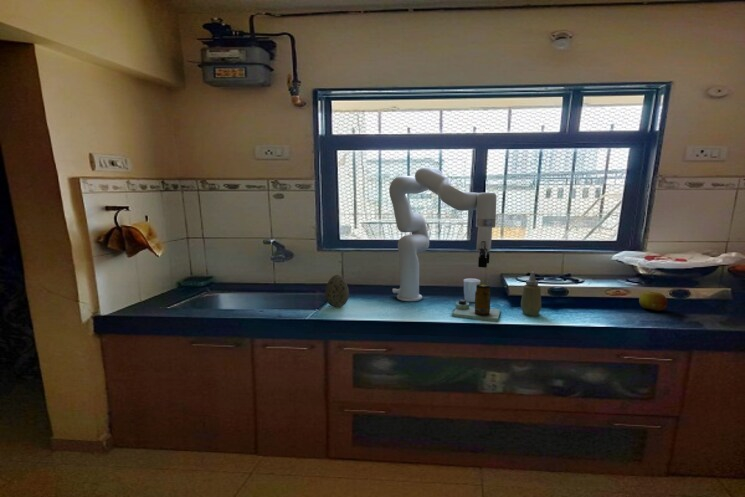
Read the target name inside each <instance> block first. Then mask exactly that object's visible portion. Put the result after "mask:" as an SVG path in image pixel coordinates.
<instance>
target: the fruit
mask: <svg viewBox="0 0 745 497" xmlns="http://www.w3.org/2000/svg"><path fill="white" fill-rule="evenodd" d="M638 303H639V305H640V307H641V308H642V309H645V310H651V311H656V312H657V311H659V312H661V311H664V310H666V309H667V307H668V299H667V296H666V295H665V294H663V293H661V292H655V291H643V292H642V293H641V294H640V295H639V298H638Z"/></svg>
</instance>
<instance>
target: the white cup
mask: <svg viewBox="0 0 745 497" xmlns="http://www.w3.org/2000/svg"><path fill="white" fill-rule="evenodd" d="M462 281H463V298H464V299H463V300H466V302H467V303H475V292H476V287H477V284H481V279H479V278H474V277H473V278H472V277H470V278H464V279H463V280H462Z"/></svg>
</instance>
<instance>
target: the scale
mask: <svg viewBox="0 0 745 497" xmlns="http://www.w3.org/2000/svg"><path fill="white" fill-rule="evenodd" d="M470 305H471V304H470V302H467V301H466V305H460V304H459V301H456V302H455V306H454V307H455V309H454V310H453V312H452V314H451V316H452V317H457V318H465V319H473V320H481V321H489V322H499V319H500V315H501V309H500V308H499V309H498V308H491V307H490V312H491V313H494V314H497V315H495V316H490V317H483V316H479V315H477V314H474V313H471V311H475V306H470Z"/></svg>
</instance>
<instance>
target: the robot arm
mask: <svg viewBox="0 0 745 497" xmlns="http://www.w3.org/2000/svg"><path fill="white" fill-rule="evenodd" d="M451 184H452V181H451V179H450V177H449V178H448V177H447V176H445V175H443V172H442V171H441V170H440V169H439V168H436V167H430V166H429V167H428V166H423V167H420V168H418V169H417V170H416V171H415V174H414V176H413V175H399V176H396V177H395V178H393V179H392V181H391V182H390V185H389V189H388V190H389V191H388V192H389V198H390V201H391V204H392V208H393V214H394V218H395V224H396V228H397V230H398V231H399V232H400V233H405V235H403V236H401V237H400V238H399V239H398V241H397V249H398V256H399V288H392V291H391V292H392V293H393V294H397V295H396V299H397V300H399V301H402V302H417V301H421V300H423V295H422V294H420V261H419V256H418V254H421V253H425V252H426V251H427V250H429V247H430V238H429V232H428V227H427V223H426V220H425V217H424V216H423V215H422V214H421V213H420V212H413V210H412V207H411V206H412V205H411V203H410V200H409V198H408V197H407V195H418V194H422V193H424V192H426V191H429V192H431V193H433V194H435V195H437V196H438V197H439V199H440V200H441V201H442V202H443V203H444V204H445V205H447V206H449V207H451V208H453V209H454V210H456V211H459V212H460V211H461V212H464V211H466V212H467V211H476V212H475V228H477V235H476V248H475V252H478V253H479V254H478V261H477V262H478V263H477V267H478V268H484V269H485V268H487V267H488V264H490V255H491V254H490V251H491V249H492V241H493V240H492V238H493V228H496V223H497V222H496V220H497V203H498V202H497V201H498V200H497V199H498V198H497V194H496V193H495V192H474V191H473V192H470V191H461V190H459V189H457V188H455V187H454V186H452V185H451ZM406 194H407V195H406ZM406 233H410V234H406Z"/></svg>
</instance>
